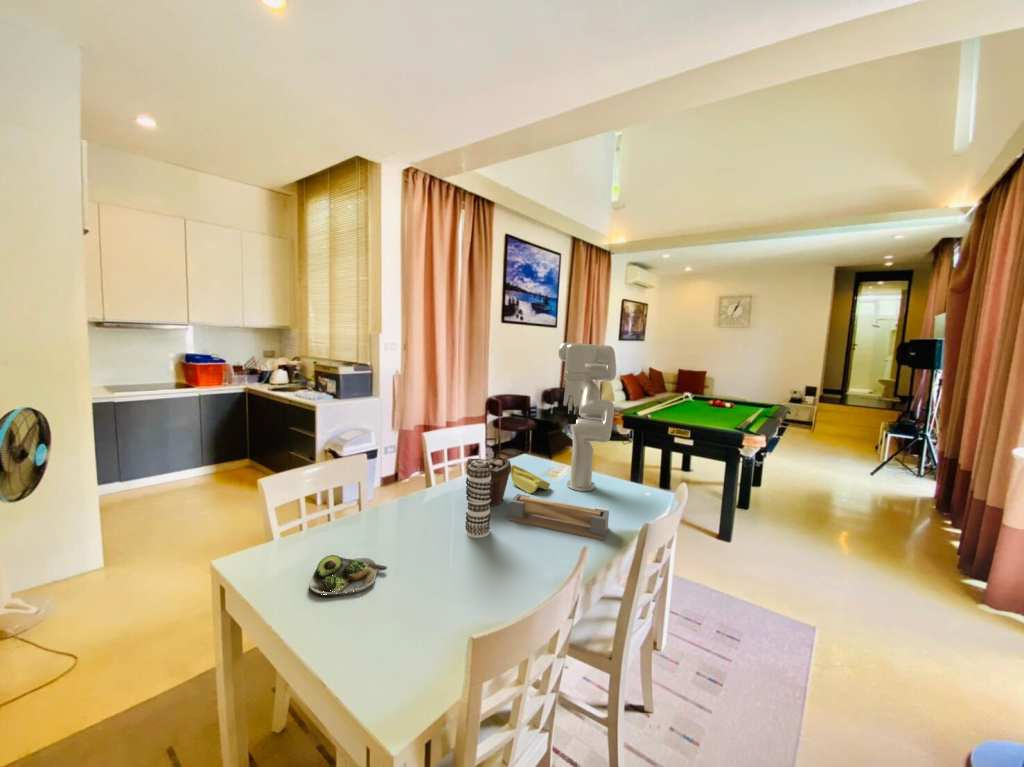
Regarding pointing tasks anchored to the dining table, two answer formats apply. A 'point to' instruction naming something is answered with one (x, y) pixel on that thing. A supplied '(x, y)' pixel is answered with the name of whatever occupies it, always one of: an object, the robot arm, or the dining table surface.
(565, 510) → the slat
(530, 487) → the plastic component
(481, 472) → the tower model
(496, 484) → the brown pot
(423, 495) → the dining table surface
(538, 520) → the end cap frame
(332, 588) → the salad plate
